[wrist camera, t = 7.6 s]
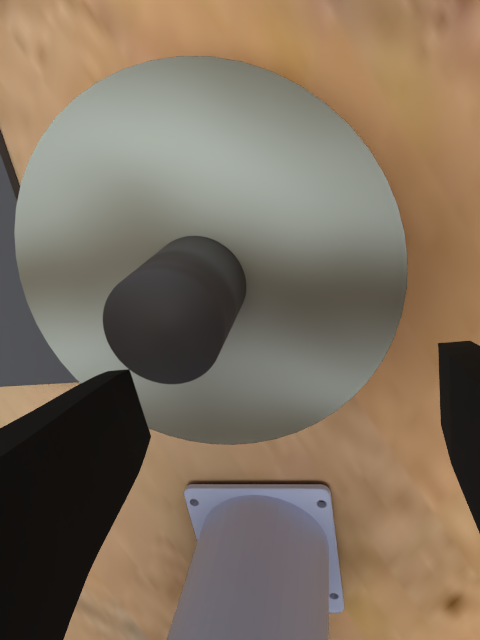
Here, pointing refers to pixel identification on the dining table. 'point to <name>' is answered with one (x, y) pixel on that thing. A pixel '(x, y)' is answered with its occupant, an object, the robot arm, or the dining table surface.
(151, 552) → the dining table surface
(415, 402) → the dining table surface
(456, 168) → the dining table surface
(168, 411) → the lid
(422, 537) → the dining table surface
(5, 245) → the mat
